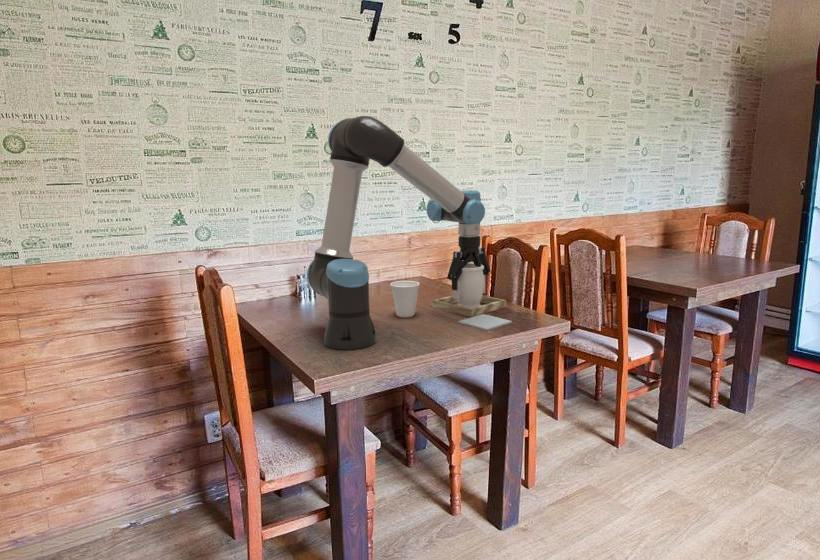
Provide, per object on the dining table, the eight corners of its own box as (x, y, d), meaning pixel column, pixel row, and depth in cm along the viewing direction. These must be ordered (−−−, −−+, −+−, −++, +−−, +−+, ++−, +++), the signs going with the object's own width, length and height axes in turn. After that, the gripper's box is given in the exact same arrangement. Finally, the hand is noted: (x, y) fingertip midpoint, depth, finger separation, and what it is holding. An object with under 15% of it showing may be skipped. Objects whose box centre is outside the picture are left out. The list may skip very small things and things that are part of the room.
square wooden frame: (470, 317, 183) (470, 309, 183) (432, 307, 197) (432, 300, 196) (506, 307, 195) (506, 300, 195) (467, 298, 209) (467, 291, 208)
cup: (417, 319, 181) (416, 287, 179) (387, 318, 183) (387, 286, 181) (422, 312, 191) (422, 280, 189) (394, 311, 193) (393, 280, 191)
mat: (487, 330, 168) (487, 328, 168) (458, 322, 177) (458, 321, 177) (512, 322, 176) (512, 321, 176) (483, 315, 185) (483, 313, 185)
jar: (485, 310, 191) (485, 268, 188) (455, 311, 191) (455, 268, 188) (482, 303, 201) (482, 262, 198) (453, 303, 201) (453, 263, 198)
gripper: (452, 240, 180) (452, 303, 185) (500, 232, 196) (499, 291, 200) (436, 238, 186) (436, 299, 190) (484, 231, 202) (484, 288, 206)
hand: (469, 295), depth 195 cm, fingers open, 12 cm apart
